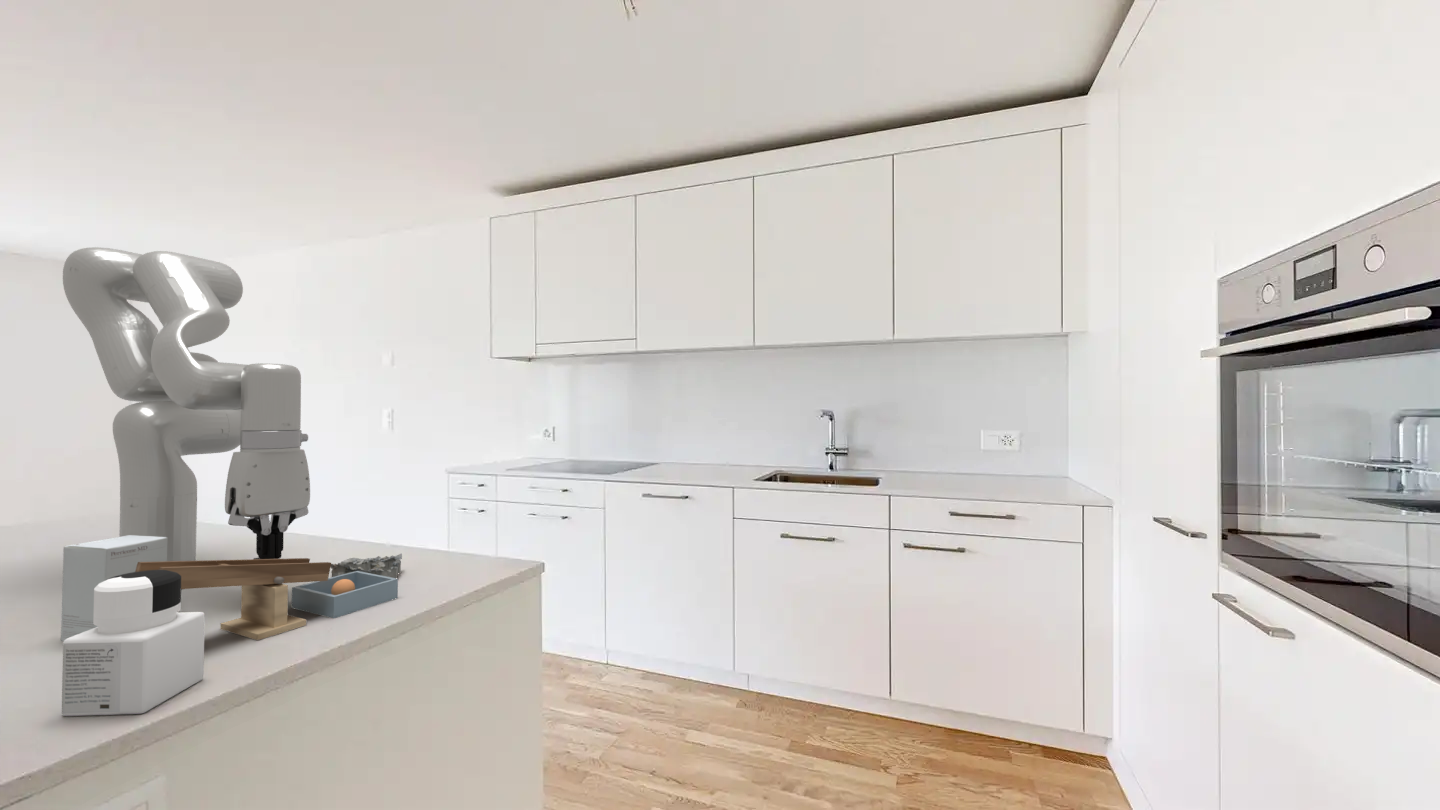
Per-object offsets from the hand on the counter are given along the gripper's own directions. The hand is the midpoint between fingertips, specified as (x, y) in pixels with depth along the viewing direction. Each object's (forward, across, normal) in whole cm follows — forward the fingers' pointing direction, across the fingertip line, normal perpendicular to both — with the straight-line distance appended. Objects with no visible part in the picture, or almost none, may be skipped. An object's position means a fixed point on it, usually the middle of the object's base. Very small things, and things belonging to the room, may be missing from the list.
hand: (269, 558), depth 91 cm
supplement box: (+7, +16, -5) cm, 18 cm away
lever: (0, +9, +6) cm, 11 cm away
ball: (+5, -6, +9) cm, 12 cm away
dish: (+8, -5, +10) cm, 14 cm away
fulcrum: (+7, +6, +10) cm, 14 cm away
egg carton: (+8, -15, +1) cm, 17 cm away
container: (+8, +23, +20) cm, 32 cm away
